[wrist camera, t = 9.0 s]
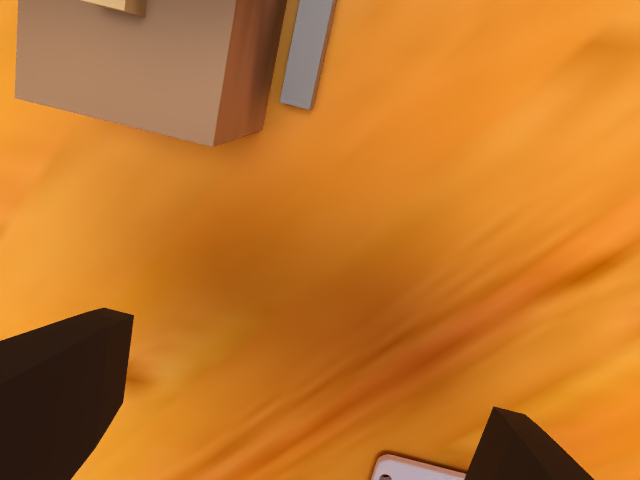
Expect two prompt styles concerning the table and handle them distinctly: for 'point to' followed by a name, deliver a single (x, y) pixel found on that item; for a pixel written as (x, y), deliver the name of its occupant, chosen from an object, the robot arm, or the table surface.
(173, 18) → the cabinet block
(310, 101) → the wall board
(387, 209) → the table surface
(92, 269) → the table surface
